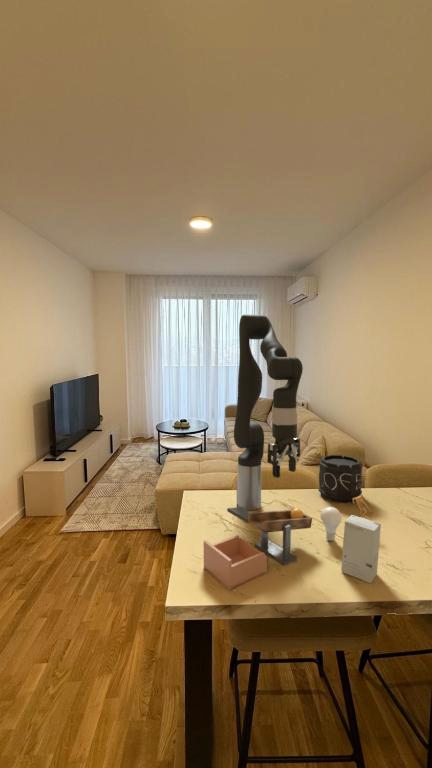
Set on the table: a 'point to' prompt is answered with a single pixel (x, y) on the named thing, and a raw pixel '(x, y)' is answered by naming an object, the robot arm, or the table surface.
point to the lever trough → (271, 519)
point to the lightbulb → (330, 521)
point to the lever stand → (278, 547)
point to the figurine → (361, 506)
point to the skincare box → (361, 548)
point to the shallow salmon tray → (234, 561)
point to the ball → (296, 513)
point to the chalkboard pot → (340, 478)
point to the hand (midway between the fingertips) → (284, 474)
